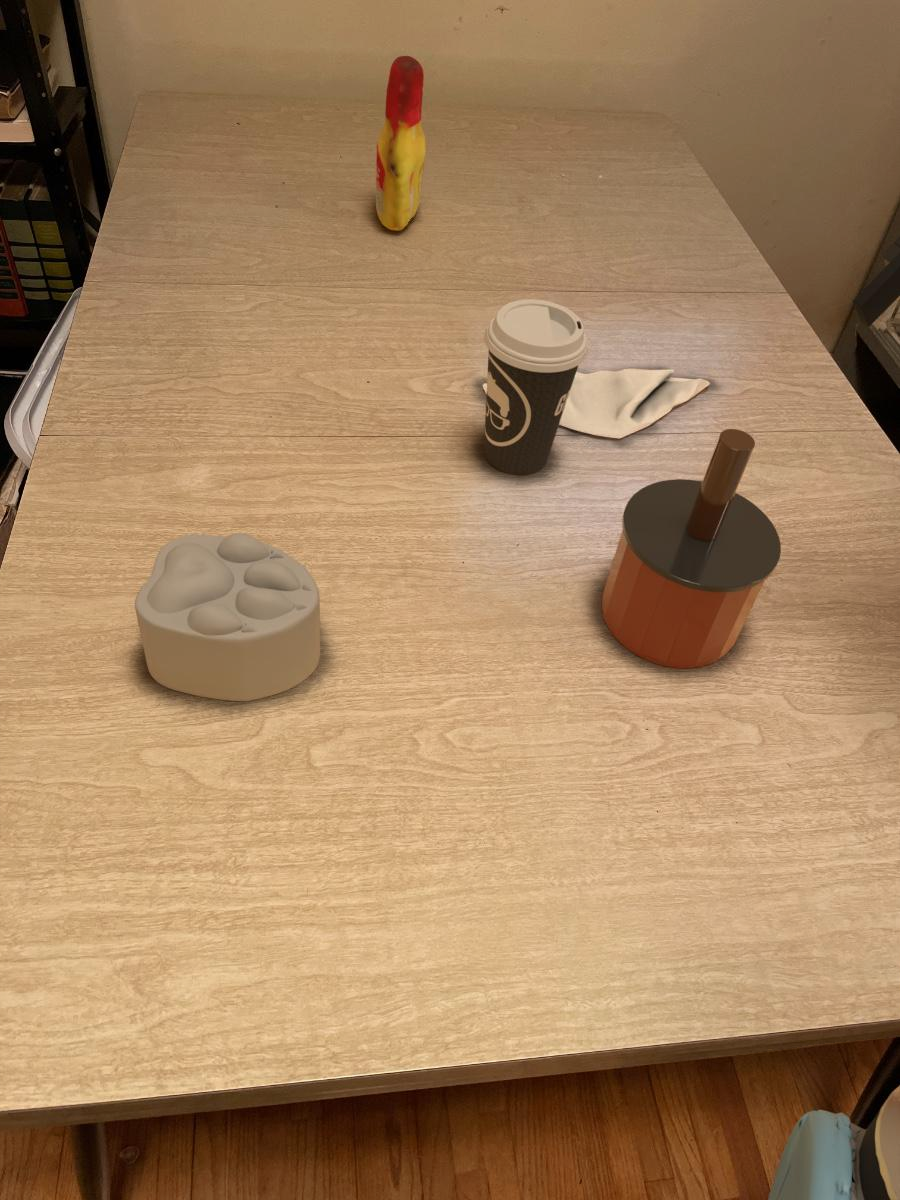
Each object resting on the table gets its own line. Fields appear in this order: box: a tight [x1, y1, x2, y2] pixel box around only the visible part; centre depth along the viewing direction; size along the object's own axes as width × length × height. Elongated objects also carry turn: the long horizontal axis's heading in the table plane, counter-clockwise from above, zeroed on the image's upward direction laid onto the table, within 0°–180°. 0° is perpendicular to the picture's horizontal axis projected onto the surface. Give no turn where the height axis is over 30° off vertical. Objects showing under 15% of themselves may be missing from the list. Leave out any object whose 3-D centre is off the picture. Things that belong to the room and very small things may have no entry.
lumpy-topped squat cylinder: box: [134, 532, 321, 702], centre depth 73 cm, size 10×13×9 cm
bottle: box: [375, 55, 427, 232], centre depth 123 cm, size 12×6×20 cm, turn 173°
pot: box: [601, 529, 766, 669], centre depth 80 cm, size 12×12×10 cm
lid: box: [621, 428, 782, 593], centre depth 74 cm, size 13×13×10 cm
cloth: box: [482, 368, 711, 440], centre depth 104 cm, size 26×14×2 cm, turn 90°
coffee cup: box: [483, 298, 589, 476], centre depth 92 cm, size 10×10×15 cm
